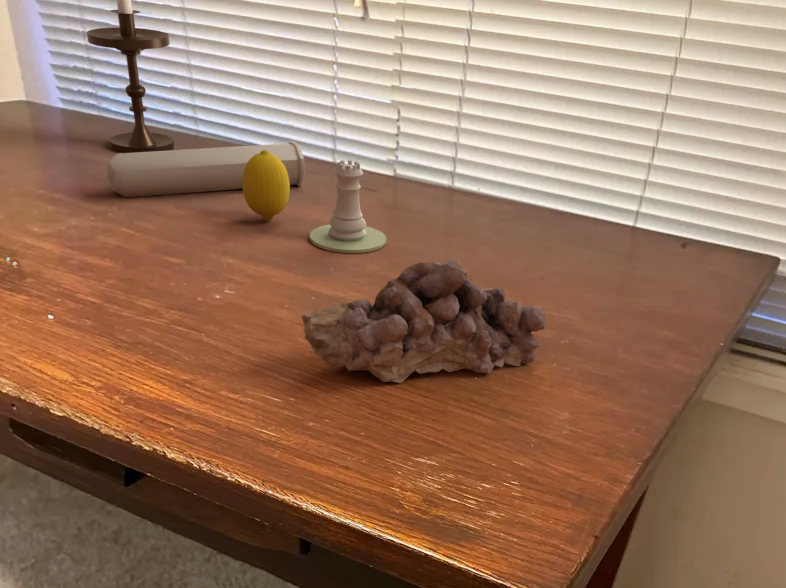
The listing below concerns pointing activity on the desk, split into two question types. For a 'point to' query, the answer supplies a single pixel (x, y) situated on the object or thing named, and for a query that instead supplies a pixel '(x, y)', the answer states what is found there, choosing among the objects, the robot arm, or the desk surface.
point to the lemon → (266, 184)
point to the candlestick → (133, 76)
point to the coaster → (366, 244)
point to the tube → (195, 169)
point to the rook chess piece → (348, 204)
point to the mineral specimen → (426, 326)
